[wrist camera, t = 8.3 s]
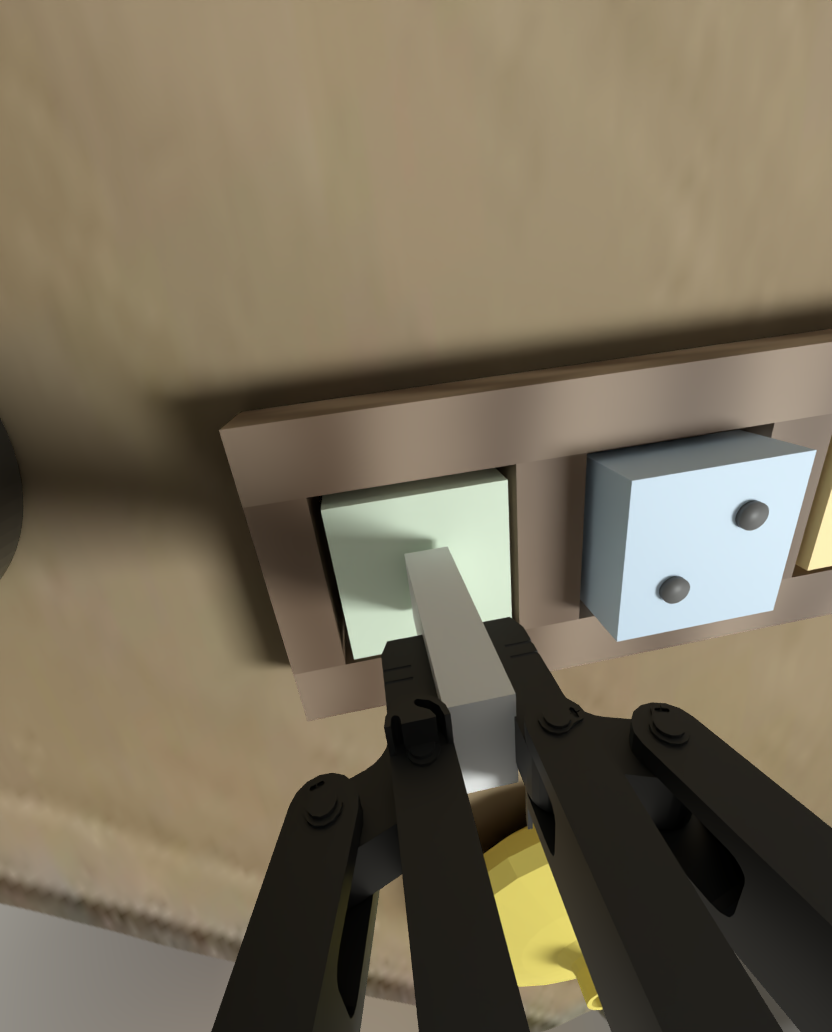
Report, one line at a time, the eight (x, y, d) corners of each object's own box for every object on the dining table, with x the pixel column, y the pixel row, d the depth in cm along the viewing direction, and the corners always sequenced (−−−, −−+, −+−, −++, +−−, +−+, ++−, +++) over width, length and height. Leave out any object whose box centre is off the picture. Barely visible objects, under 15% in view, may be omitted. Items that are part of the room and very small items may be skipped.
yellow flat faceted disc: (506, 757, 25) (561, 904, 19) (703, 794, 30) (801, 922, 23) (400, 915, 30) (415, 1074, 24) (583, 926, 35) (637, 1063, 28)
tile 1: (352, 612, 19) (354, 663, 16) (324, 480, 17) (320, 512, 14) (489, 587, 20) (514, 632, 17) (481, 455, 17) (509, 481, 14)
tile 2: (576, 595, 19) (619, 645, 16) (583, 454, 16) (635, 482, 13) (711, 569, 19) (777, 613, 16) (739, 429, 17) (822, 451, 14)
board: (312, 668, 20) (307, 721, 18) (240, 411, 16) (218, 429, 13) (882, 557, 23) (953, 588, 20) (975, 308, 18) (1087, 305, 15)
